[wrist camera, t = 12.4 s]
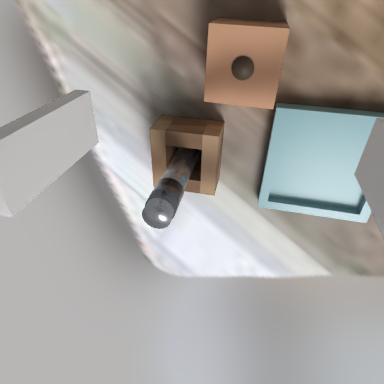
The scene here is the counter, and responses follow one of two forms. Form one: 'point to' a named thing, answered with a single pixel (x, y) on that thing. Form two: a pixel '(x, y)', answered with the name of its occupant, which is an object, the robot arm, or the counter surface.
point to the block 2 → (244, 61)
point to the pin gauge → (170, 189)
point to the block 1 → (188, 138)
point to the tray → (316, 161)
